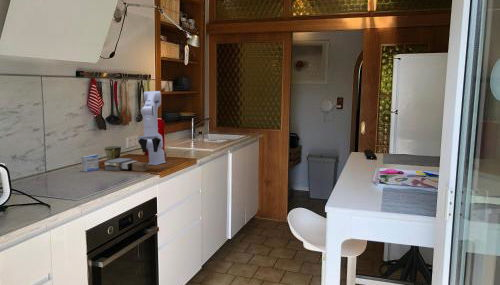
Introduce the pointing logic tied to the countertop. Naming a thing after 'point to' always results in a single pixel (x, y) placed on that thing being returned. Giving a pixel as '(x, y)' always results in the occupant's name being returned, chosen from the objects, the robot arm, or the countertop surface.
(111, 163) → the gauge housing
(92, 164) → the medicine box
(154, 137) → the robot arm
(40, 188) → the countertop surface
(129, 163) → the gauge plunger
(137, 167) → the walnut block
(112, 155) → the ceramic cup
